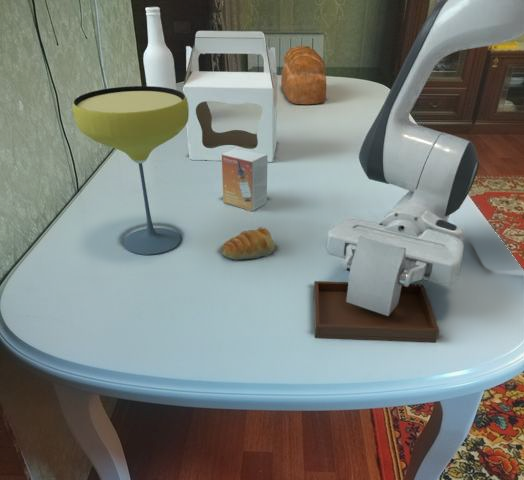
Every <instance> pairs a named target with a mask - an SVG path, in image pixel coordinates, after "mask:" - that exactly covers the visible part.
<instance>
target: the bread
mask: <svg viewBox="0 0 524 480" xmlns="http://www.w3.org/2000/svg"><path fill="white" fill-rule="evenodd" d="M325 72H326V66H325V61H324V59H323V57H322V56H320V54H319V53H318V52H317V50H315V49H313V48H311V47H310V46H308V45H307V46H306V45H297V46H295V47H291V48H290V49H289V50H287V51H286V54H285V55H284V57H283V68H282V70H281V76H280V78H281V81H280V82H281V85H280V86H281V89H282V92H283V94H284V95H285V98H286V99H287V100H288V102H289V103H292V104H293V105H318V104H322V103H325V100H326V98H327V76H326V74H325Z"/></svg>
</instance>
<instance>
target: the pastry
mask: <svg viewBox="0 0 524 480" xmlns="http://www.w3.org/2000/svg"><path fill="white" fill-rule="evenodd" d="M275 249H276V245H275V242H274V240H273V237H272V234H271V232H270V231H269V229H267V228H265V227H259V226H258V228H257V229H250V230H242V231H240V233H239V234H238V235H236V236H234V237H232V238H229V240H227V241H226V242H224V243H223V244H222V248H221V254H222V255H223V256H224V257H226V258H228V259H230V260H235V261H242V260H253V259H258V258H262V257H268V256H270V255H272V254H273V252H274V251H275Z"/></svg>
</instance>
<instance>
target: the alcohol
mask: <svg viewBox="0 0 524 480" xmlns="http://www.w3.org/2000/svg"><path fill="white" fill-rule="evenodd" d="M160 10H161V8H160V7H158V6H148V7H147V6H146V7H145V15H146V27H147V47H146V49H145V50H144V52H143V57H142V59H143V61H142V62H143V68H144V76H145V82H146V84H145V85H146V86H154V87H164V88H170V89H175V90H178V89H177V80H176V69H175V60H174V56H173V53H172V52H171V50H170V48H168V46H167V45H166V42H165V36H164V31H163V24H162V18H161V11H160Z"/></svg>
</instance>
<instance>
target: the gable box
mask: <svg viewBox="0 0 524 480" xmlns="http://www.w3.org/2000/svg"><path fill="white" fill-rule="evenodd" d="M201 54H202V55H206V54H232V55H236V54H237V55H261V56H262V59H263V71H241V70H240V71H239V70H236V71H235V70H234V71H232V70H228V71H227V70H200V63H199V62H200V61H199V57H200V55H201ZM185 57H186V58H185V61H186V63H185V64H186V65H185V67H186V70H185V71H186V73H185V77H184V81H183V85H182V90H183V91H182V93H184V94H185V96H186V98H187V102H188V109H189V116H188V122H187V124H186V125H185V126H186V135H187V142H188V143H187V146H188V158H189V160H190V161H205V160H207V161H208V162H209V161H210V162H222V154H224V153H226V152H228V151H231V150H233V149H236V148H240V149H243V150H247V151H251V152H256V153H260V154H267V163H274V158H275V154H276V150H277V134H278V133H277V130H278V129H277V128H278V126H277V125H278V74H277V73H278V70H277V52H276V46H271V47H269V45H268V44H267V41H266V35H265V33H264V32H263V31H261V30H198V31H196V33H195V37H194V44H193V45H192V46H191V45H186V46H185ZM207 102H218V103H223V104H228V105H242V104H243V105H244V104H254V105H257V106H259V107H260V108H261V110H262V111H261V116H260V119H259V122H258V125H257V129H256V133H251V132H249V131H246V130H242V129H232V130H226V131H222V132H216V131H215V130H213V128H212V123H213V122H212V121H213V117H212V112H211V109H210V106H209V105H208V103H207Z"/></svg>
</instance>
